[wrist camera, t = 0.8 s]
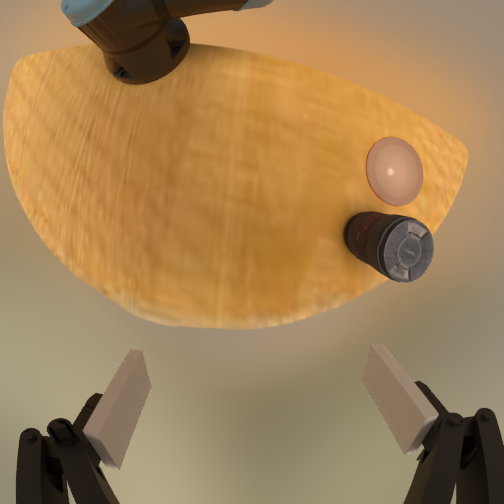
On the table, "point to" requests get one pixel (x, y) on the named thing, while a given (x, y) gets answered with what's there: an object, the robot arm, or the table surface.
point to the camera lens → (391, 244)
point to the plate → (394, 171)
